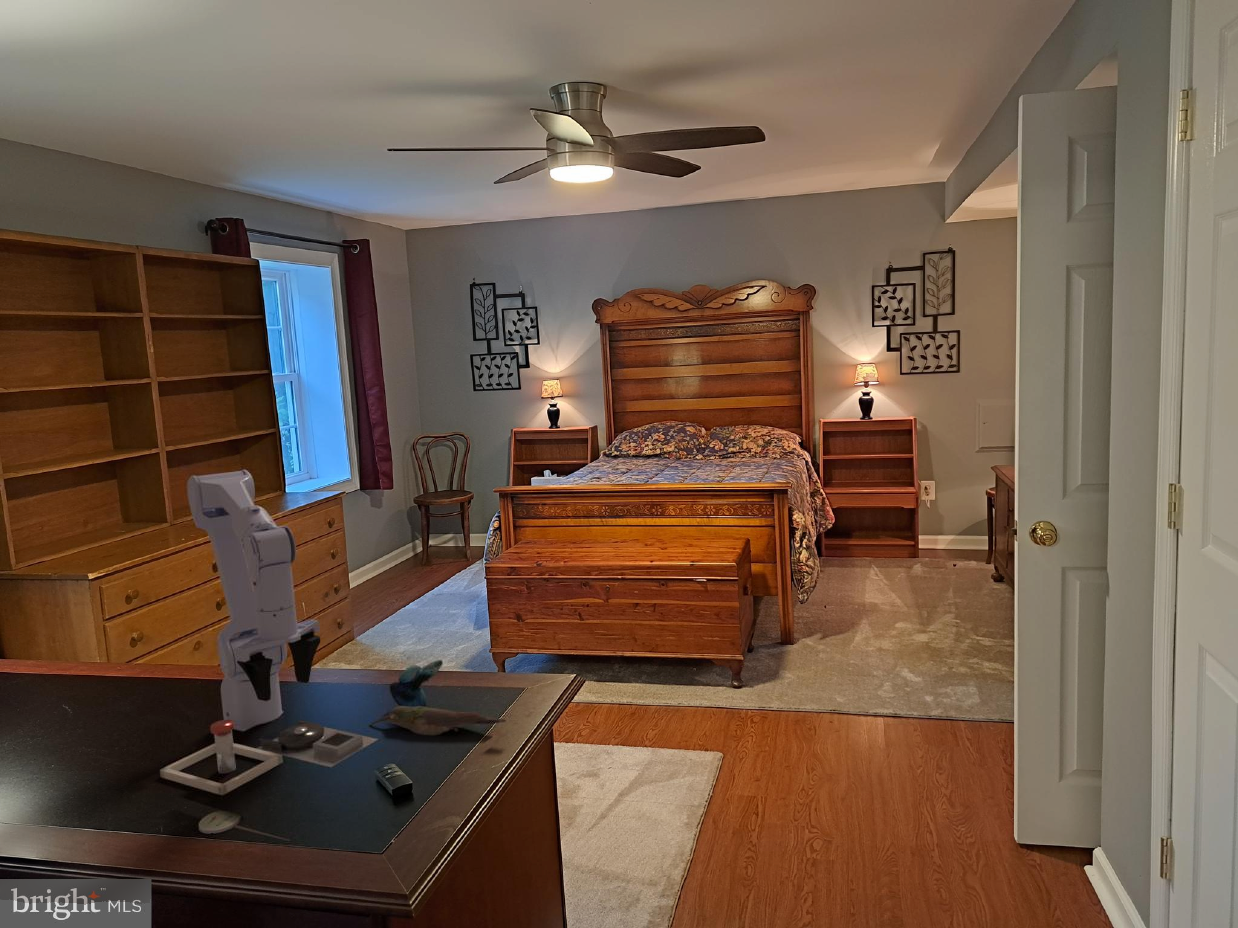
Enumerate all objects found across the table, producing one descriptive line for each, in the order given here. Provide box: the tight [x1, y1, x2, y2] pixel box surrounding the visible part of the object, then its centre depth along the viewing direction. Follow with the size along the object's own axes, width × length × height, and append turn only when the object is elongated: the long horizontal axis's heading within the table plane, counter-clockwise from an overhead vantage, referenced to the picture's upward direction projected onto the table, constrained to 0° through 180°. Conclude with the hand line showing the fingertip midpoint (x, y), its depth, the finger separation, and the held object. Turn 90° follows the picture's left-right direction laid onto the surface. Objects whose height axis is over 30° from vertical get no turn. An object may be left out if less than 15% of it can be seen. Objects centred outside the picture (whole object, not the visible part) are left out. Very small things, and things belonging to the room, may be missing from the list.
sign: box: [198, 809, 291, 842], centre depth 116 cm, size 5×1×15 cm
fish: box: [389, 659, 443, 707], centre depth 149 cm, size 4×10×10 cm, turn 78°
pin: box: [210, 719, 237, 774], centre depth 130 cm, size 3×3×8 cm
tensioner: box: [255, 719, 379, 768], centre depth 138 cm, size 16×10×3 cm, turn 62°
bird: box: [367, 705, 507, 736], centre depth 141 cm, size 25×5×5 cm, turn 75°
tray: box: [159, 742, 284, 796], centre depth 131 cm, size 14×11×2 cm
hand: (284, 690), depth 137 cm, fingers open, 7 cm apart
